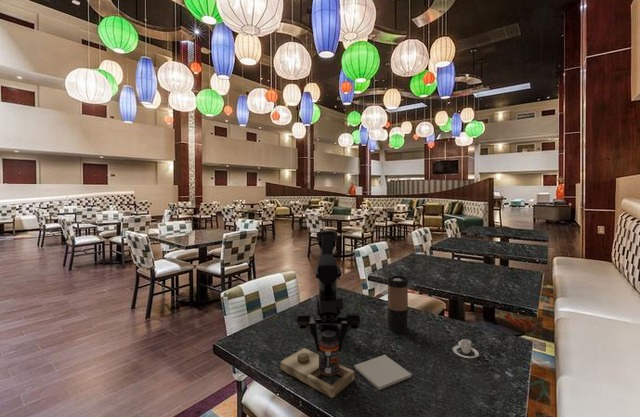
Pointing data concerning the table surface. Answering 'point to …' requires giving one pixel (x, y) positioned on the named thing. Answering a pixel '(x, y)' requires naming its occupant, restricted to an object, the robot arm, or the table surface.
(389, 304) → the travel mug
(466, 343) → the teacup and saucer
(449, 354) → the table surface
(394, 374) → the grey pad
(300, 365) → the sliding-lid wooden box
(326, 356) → the supplement bottle
